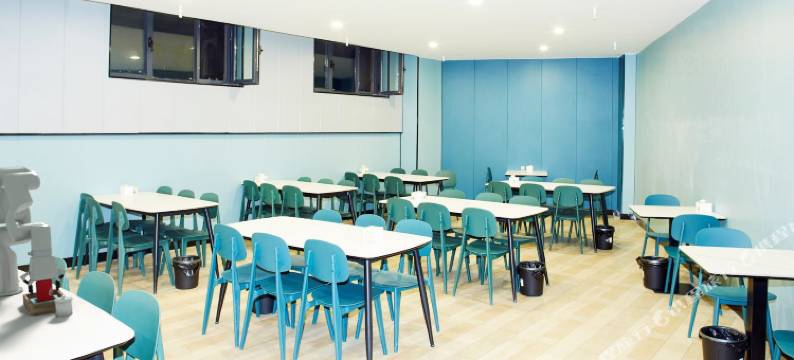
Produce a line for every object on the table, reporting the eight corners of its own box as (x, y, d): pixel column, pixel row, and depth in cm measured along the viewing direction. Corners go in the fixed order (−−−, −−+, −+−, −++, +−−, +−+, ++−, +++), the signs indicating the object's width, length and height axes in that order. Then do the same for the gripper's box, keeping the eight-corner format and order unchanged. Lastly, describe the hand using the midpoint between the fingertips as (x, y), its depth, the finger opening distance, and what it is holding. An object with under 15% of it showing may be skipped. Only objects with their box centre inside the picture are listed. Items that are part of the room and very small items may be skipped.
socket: (30, 304, 259) (30, 299, 259) (56, 300, 265) (56, 294, 265) (34, 310, 251) (33, 304, 251) (60, 305, 258) (60, 299, 257)
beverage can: (57, 302, 261) (55, 276, 260) (47, 307, 255) (45, 279, 254) (43, 302, 262) (41, 276, 261) (33, 307, 256) (31, 279, 255)
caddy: (23, 304, 263) (22, 294, 262) (59, 298, 271) (58, 288, 271) (31, 316, 246) (30, 305, 245) (69, 309, 254) (68, 299, 254)
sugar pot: (57, 312, 250) (56, 293, 249) (75, 311, 252) (73, 292, 251) (53, 317, 244) (52, 298, 243) (71, 316, 246) (70, 296, 245)
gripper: (19, 257, 248) (22, 297, 250) (66, 251, 259) (68, 290, 260) (17, 254, 254) (20, 293, 255) (62, 249, 265) (65, 286, 266)
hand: (44, 291), depth 258 cm, fingers open, 9 cm apart
